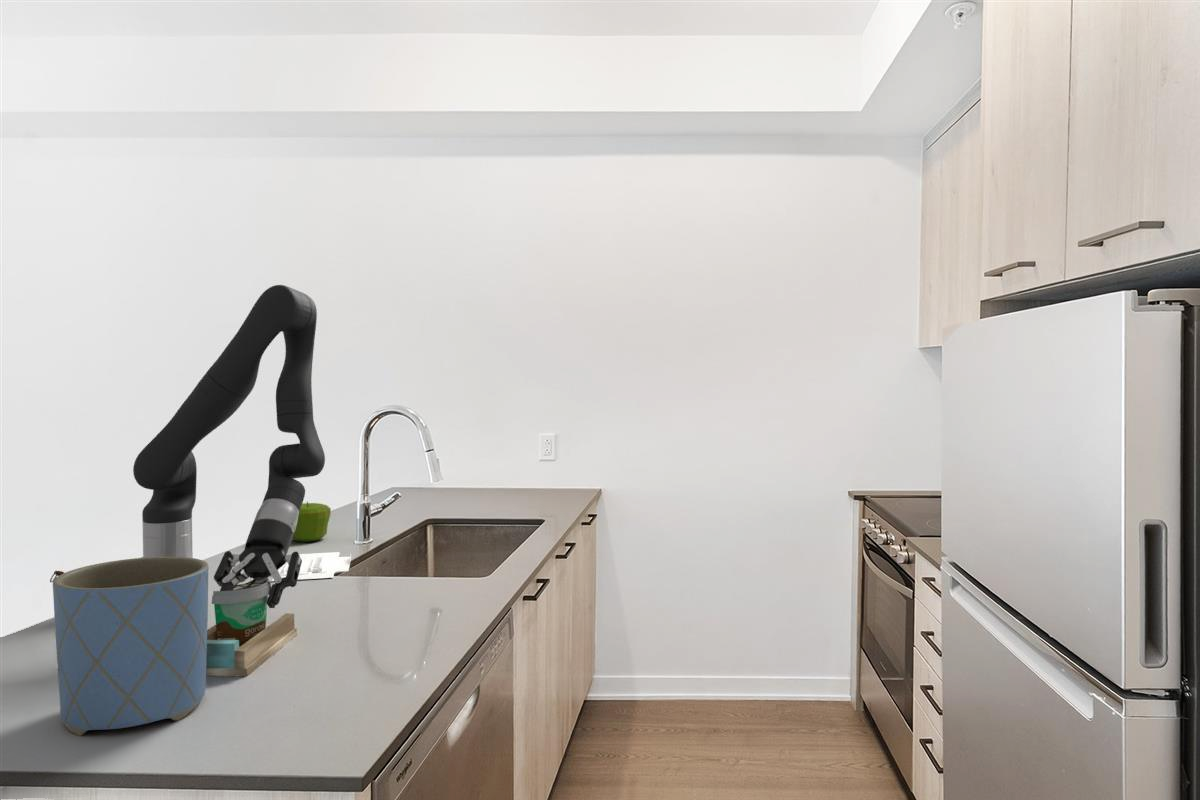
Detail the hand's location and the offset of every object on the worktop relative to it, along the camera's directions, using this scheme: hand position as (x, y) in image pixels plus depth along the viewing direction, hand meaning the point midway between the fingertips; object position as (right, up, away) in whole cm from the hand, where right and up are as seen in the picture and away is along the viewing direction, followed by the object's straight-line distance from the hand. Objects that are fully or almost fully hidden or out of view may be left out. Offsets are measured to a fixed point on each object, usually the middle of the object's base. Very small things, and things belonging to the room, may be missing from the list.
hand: (246, 605), depth 140 cm
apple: (-23, -5, +91) cm, 94 cm away
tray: (-11, -6, +59) cm, 61 cm away
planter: (-4, -8, -26) cm, 28 cm away
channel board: (0, -7, -3) cm, 8 cm away
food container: (+1, -6, 0) cm, 6 cm away
